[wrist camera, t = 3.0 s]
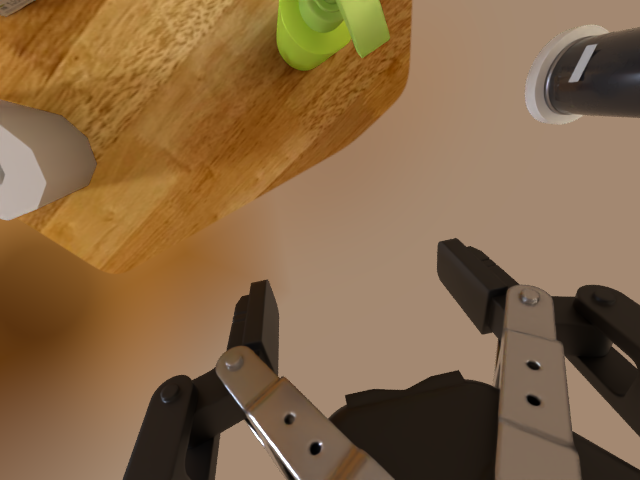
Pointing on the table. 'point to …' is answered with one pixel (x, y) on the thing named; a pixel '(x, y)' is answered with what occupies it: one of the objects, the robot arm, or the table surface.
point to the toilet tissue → (39, 159)
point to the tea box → (12, 6)
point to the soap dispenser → (327, 29)
